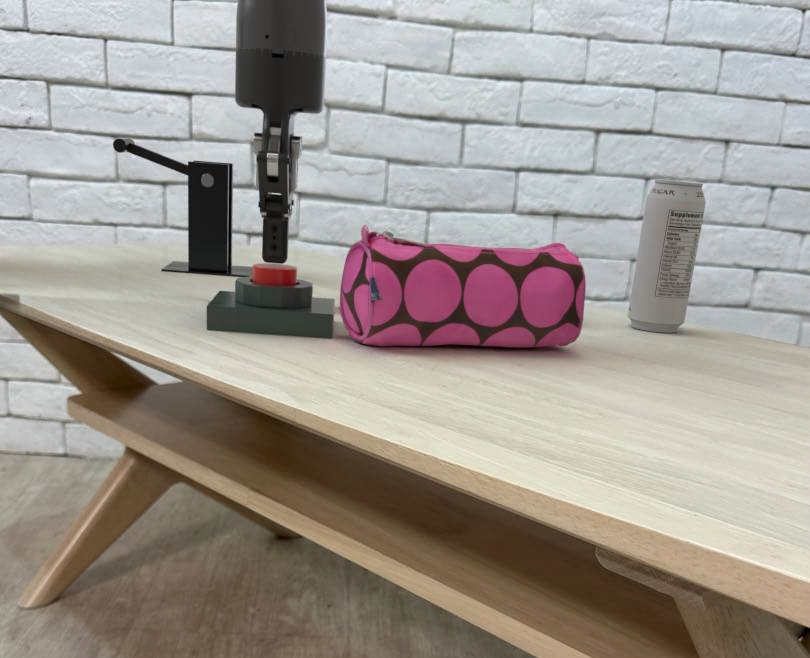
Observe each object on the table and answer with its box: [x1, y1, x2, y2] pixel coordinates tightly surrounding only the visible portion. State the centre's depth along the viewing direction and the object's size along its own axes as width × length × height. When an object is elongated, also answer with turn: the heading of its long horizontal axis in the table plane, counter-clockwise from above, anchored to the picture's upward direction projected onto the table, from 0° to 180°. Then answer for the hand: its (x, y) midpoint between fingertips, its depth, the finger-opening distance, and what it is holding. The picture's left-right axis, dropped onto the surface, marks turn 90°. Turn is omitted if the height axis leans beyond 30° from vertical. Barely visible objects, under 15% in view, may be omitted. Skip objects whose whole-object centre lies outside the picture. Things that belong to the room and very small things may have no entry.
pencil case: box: [339, 224, 587, 348], centre depth 88 cm, size 21×10×10 cm, turn 111°
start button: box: [252, 262, 298, 286], centre depth 90 cm, size 4×4×2 cm
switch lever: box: [112, 137, 188, 177], centre depth 112 cm, size 12×5×2 cm, turn 93°
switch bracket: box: [161, 160, 253, 278], centre depth 115 cm, size 10×8×13 cm
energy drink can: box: [627, 179, 707, 334], centre depth 105 cm, size 6×6×15 cm
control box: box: [206, 276, 336, 340], centre depth 91 cm, size 11×9×4 cm
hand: (274, 261), depth 90 cm, fingers closed
